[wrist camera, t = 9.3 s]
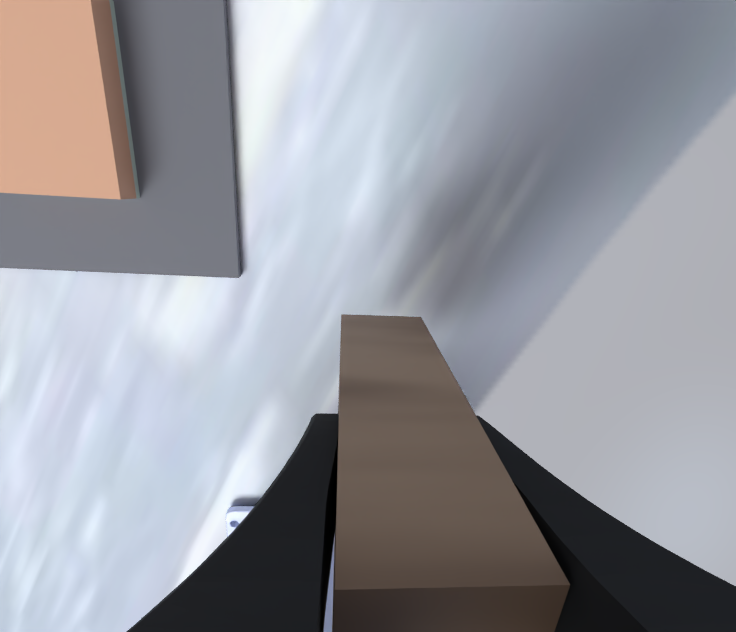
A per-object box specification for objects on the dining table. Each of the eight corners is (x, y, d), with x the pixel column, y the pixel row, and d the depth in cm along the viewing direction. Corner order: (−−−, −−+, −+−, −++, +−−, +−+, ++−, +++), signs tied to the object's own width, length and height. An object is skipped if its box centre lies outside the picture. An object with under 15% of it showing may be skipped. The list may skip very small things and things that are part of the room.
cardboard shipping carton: (408, 427, 16) (501, 786, 6) (337, 427, 16) (327, 798, 6) (420, 317, 14) (569, 584, 5) (341, 314, 14) (334, 590, 5)
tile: (120, 199, 15) (87, -20, 13) (-15, 191, 14) (-75, -36, 12) (140, 198, 16) (113, 1, 14) (17, 191, 16) (-31, -13, 14)
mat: (241, 275, 18) (238, 277, 18) (-51, 263, 17) (-60, 265, 17) (220, -106, 13) (216, -115, 13) (-181, -154, 12) (-197, -164, 12)
